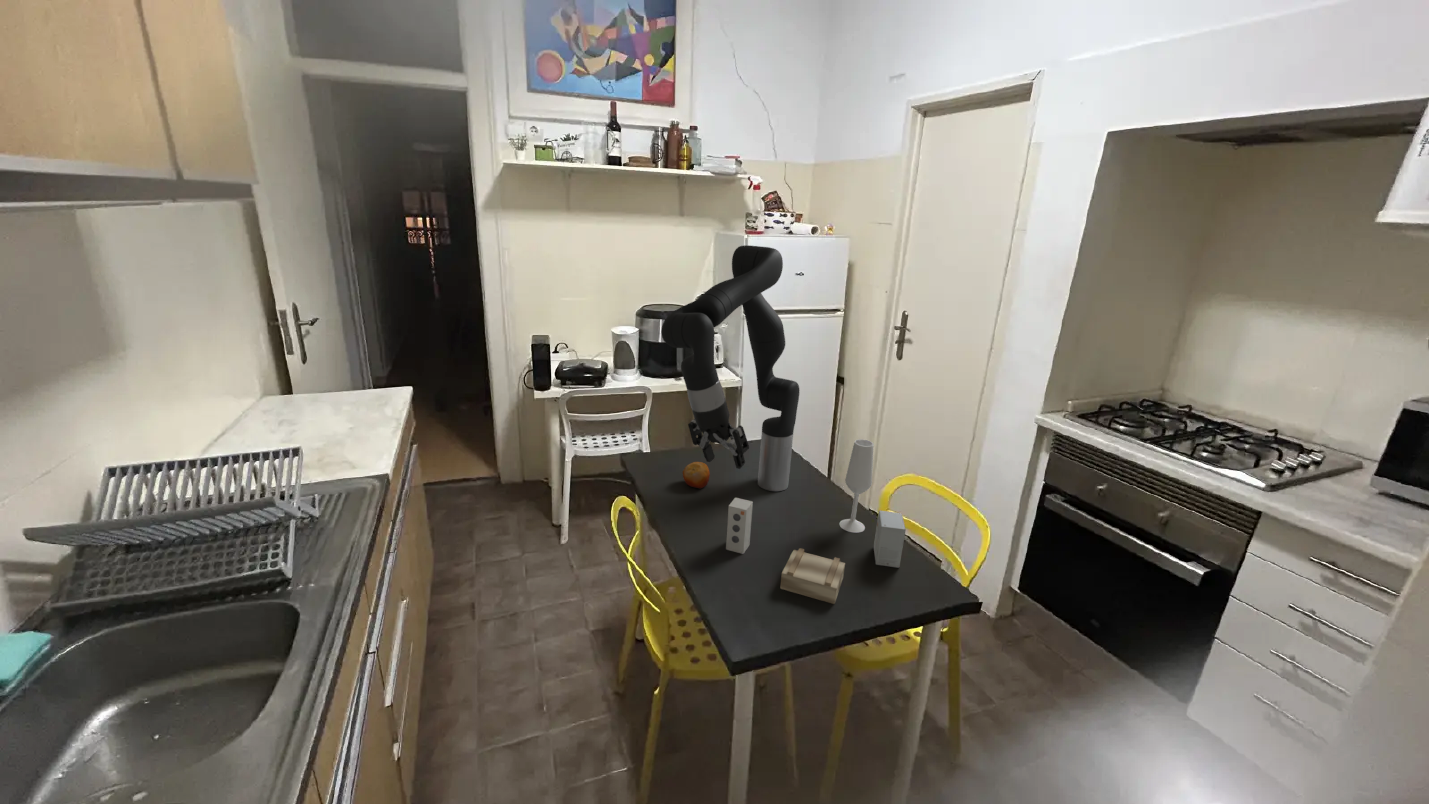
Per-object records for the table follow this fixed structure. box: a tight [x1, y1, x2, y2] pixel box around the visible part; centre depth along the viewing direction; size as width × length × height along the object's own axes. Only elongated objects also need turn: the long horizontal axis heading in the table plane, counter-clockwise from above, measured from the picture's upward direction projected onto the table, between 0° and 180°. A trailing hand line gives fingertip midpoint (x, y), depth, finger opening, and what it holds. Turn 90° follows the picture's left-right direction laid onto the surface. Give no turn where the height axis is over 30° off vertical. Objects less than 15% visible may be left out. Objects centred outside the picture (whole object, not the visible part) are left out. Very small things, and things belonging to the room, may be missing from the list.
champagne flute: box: [839, 438, 875, 534], centre depth 147 cm, size 7×7×24 cm
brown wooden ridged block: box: [780, 547, 846, 605], centre depth 126 cm, size 10×12×5 cm
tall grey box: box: [725, 497, 754, 555], centre depth 137 cm, size 5×4×12 cm
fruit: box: [682, 461, 711, 489], centre depth 169 cm, size 8×8×8 cm
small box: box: [873, 510, 906, 568], centre depth 137 cm, size 8×6×10 cm
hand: (725, 463), depth 128 cm, fingers open, 8 cm apart
